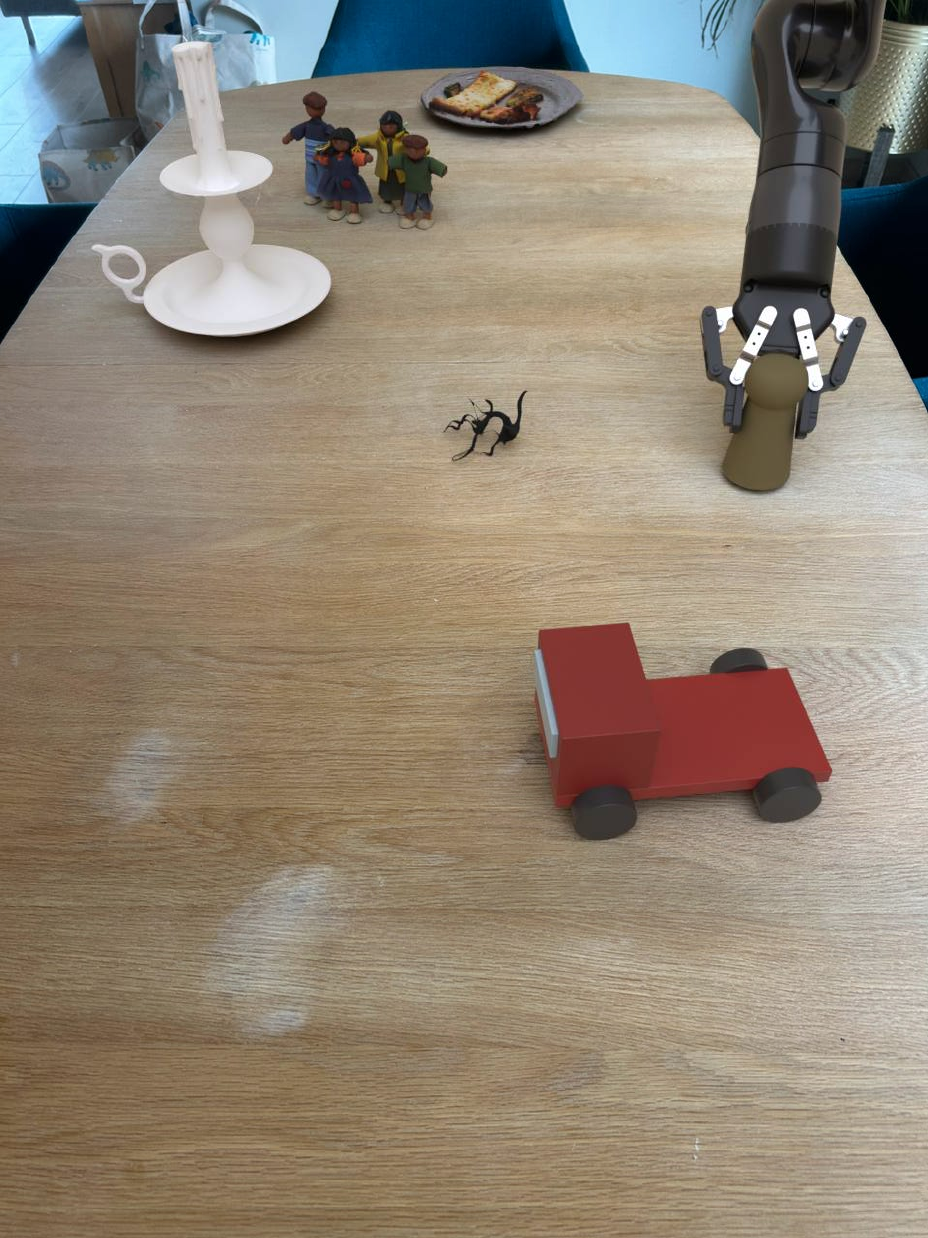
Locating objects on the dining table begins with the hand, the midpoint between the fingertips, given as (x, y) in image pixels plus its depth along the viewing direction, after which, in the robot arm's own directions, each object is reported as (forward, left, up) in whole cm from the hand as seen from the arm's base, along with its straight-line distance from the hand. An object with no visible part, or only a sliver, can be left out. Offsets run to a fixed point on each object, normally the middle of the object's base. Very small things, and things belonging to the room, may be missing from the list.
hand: (767, 434), depth 86 cm
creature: (+24, -10, -6) cm, 26 cm away
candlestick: (+50, -38, -6) cm, 63 cm away
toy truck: (+15, +28, -6) cm, 32 cm away
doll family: (+33, -63, -6) cm, 71 cm away
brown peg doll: (0, -2, -5) cm, 6 cm away
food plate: (+11, -97, -6) cm, 97 cm away
